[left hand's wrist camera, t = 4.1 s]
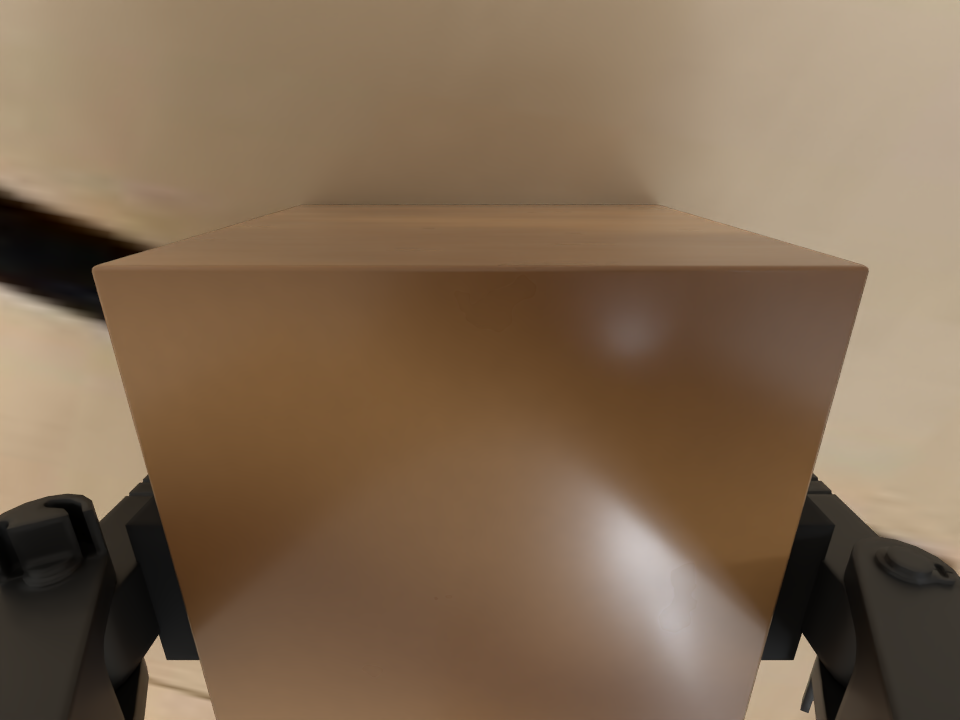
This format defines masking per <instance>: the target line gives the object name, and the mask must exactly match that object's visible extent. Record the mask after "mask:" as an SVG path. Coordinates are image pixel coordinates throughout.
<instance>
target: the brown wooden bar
mask: <svg viewBox="0 0 960 720" xmlns="http://www.w3.org/2000/svg"><path fill="white" fill-rule="evenodd" d="M868 272H869V271H868V267H866V266H864V265H861V264H858V263H854V262H851V261H848V260H844V259H841V258H837V257H834V256H831V255H827V254H824V253H820V252H817V251H814V250H810V249H807V248H803V247H800V246H797V245H793V244H790V243H786V242H783V241H780V240H776V239H773V238H769V237H766V236H763V235H759V234H756V233H752V232H749V231H746V230H742V229H739V228H735V227H732V226H729V225H725V224H722V223H719V222H715V221H712V220H708V219H705V218H702V217H698V216H695V215H691V214H688V213H685V212H681V211H678V210H674V209H671V208H668V207H664V206H661V205H299V206H296V207H293V208H289V209H286V210H282V211H279V212H276V213H272V214H269V215H266V216H262V217H259V218H255V219H252V220H249V221H245V222H242V223H238V224H235V225H232V226H228V227H225V228H221V229H218V230H215V231H211V232H208V233H205V234H201V235H198V236H194V237H191V238H188V239H184V240H181V241H177V242H174V243H171V244H167V245H164V246H161V247H157V248H154V249H150V250H147V251H144V252H140V253H137V254H133V255H130V256H127V257H123V258H120V259H116V260H113V261H110V262H106V263H103V264H100V265H97V266H94V267H93V268H92V273H93V277H94V281H95V284H96V288H97V291H98V295H99V299H100V302H101V306H102V310H103V313H104V317H105V320H106V324H107V328H108V331H109V335H110V338H111V342H112V346H113V349H114V353H115V356H116V360H117V364H118V367H119V371H120V374H121V378H122V382H123V385H124V389H125V392H126V396H127V400H128V403H129V407H130V410H131V414H132V418H133V421H134V425H135V428H136V432H137V436H138V439H139V443H140V447H141V450H142V454H143V457H144V461H145V465H146V468H147V472H148V475H149V479H150V483H151V486H152V490H153V493H154V497H155V501H156V504H157V508H158V511H159V515H160V519H161V522H162V526H163V529H164V533H165V537H166V540H167V544H168V547H169V551H170V555H171V558H172V562H173V565H174V569H175V573H176V576H177V580H178V584H179V587H180V591H181V594H182V598H183V602H184V605H185V609H186V612H187V616H188V620H189V623H190V627H191V630H192V634H193V638H194V641H195V645H196V648H197V652H198V656H199V659H200V663H201V666H202V670H203V674H204V677H205V681H206V684H207V688H208V692H209V695H210V699H211V702H212V706H213V710H214V713H215V717H216V720H744V718H745V715H746V711H747V708H748V704H749V700H750V697H751V693H752V690H753V686H754V682H755V679H756V675H757V672H758V668H759V664H760V661H761V657H762V654H763V650H764V646H765V643H766V639H767V636H768V632H769V628H770V625H771V621H772V618H773V614H774V610H775V607H776V603H777V600H778V596H779V592H780V589H781V585H782V582H783V578H784V574H785V571H786V567H787V564H788V560H789V556H790V553H791V549H792V546H793V542H794V538H795V535H796V531H797V528H798V524H799V520H800V517H801V513H802V510H803V506H804V502H805V499H806V495H807V492H808V488H809V484H810V481H811V477H812V474H813V470H814V466H815V463H816V459H817V456H818V452H819V448H820V445H821V441H822V438H823V434H824V430H825V427H826V423H827V420H828V416H829V412H830V409H831V405H832V402H833V398H834V394H835V391H836V387H837V384H838V380H839V376H840V373H841V369H842V366H843V362H844V358H845V355H846V351H847V348H848V344H849V340H850V337H851V333H852V330H853V326H854V322H855V319H856V315H857V312H858V308H859V304H860V301H861V297H862V294H863V290H864V286H865V283H866V279H867V276H868Z"/></svg>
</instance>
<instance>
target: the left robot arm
mask: <svg viewBox="0 0 960 720" xmlns="http://www.w3.org/2000/svg"><path fill="white" fill-rule="evenodd" d="M831 492H832V491H831V490H830V489H829V488H828V487H827V486H826V485H825V484H824V483H823V482H822V481H818V477H817V476H815V475H814V474H812V477H811V481H810V484H809V488H808V492H807V495H806V499H805V502H804V506H803V510H802V513H801V517H800V520H799V524H798V528H797V531H796V535H795V538H794V542H793V546H792V549H791V553H790V556H789V560H788V564H787V567H786V571H785V574H784V578H783V582H782V585H781V589H780V592H779V596H778V600H777V603H776V607H775V610H774V614H773V618H772V621H771V625H770V628H769V632H768V636H767V639H766V643H765V646H764V650H763V654H762V657H761V660H794V657H795V654H796V650H797V647H798V644H799V641H800V638H801V634H802V633H803V635H804V636H805V638H806V639H807V641H808V642H809V643H810V645H811V646H812V648H813V649H814V651H815V652H816V654H817V657H816V660H815V663H814V666H813V669H812V672H811V675H810V678H809V681H808V684H807V687H806V690H805V693H804V696H803V699H802V704H801V709H800V710H801V711H804V712H807V713H809V710H810V707H811V704H812V701H814V705H815V714H816V720H960V577H959V576H958V574H957V573H956V572H955V571H954V570H953V569H952V568H951V567H949V566H948V565H947V564H946V563H944V562H943V561H942V560H940V559H939V558H938V557H936V556H934V555H932V554H930V553H928V552H926V551H924V550H922V549H920V548H918V547H916V546H913V545H910V544H907V543H904V542H901V541H898V540H894V539H888V538H881V537H879V536H878V535H877V534H876V533H875V532H874V531H872V530H871V529H870V528H869V527H868V526H867V525H866V524H865V523H864V522H863V521H862V520H861V519H860V518H859V517H858V516H857V515H856V514H855V513H854V512H853V511H852V510H851V509H850V508H849V507H848V506H847V505H846V504H845V503H843V502H842V501H841V500H840V499H839V498H838V497H837V496H836V495H835V494H832V493H831ZM158 635H159V636H160V640H161V643H162V646H163V649H164V652H165V656H166V659H167V660H200V659H199V656H198V652H197V648H196V645H195V641H194V638H193V634H192V630H191V627H190V623H189V620H188V616H187V612H186V609H185V605H184V602H183V598H182V594H181V591H180V587H179V584H178V580H177V576H176V573H175V569H174V565H173V562H172V558H171V555H170V551H169V547H168V544H167V540H166V537H165V533H164V529H163V526H162V522H161V519H160V515H159V511H158V508H157V504H156V501H155V497H154V493H153V490H152V486H151V483H150V479H149V475H147V476H146V477H145V478H144V479H143V483H139V484H138V485H137V486H136V487H135V488H134V489H133V490H132V491H131V492H130V493H129V496H126V497H125V498H124V499H123V500H121V501H120V502H119V503H118V504H117V505H116V506H115V507H114V508H113V509H112V510H111V511H110V512H109V513H108V514H107V515H106V516H105V517H104V518H103V519H102V520H101V521H100V522H99V521H98V518H97V515H96V512H95V509H94V506H93V503H92V500H90V499H88V498H87V497H85V496H83V495H76V494H62V495H55V496H48V497H44V498H41V499H37V500H34V501H31V502H27V503H25V504H22V505H20V506H18V507H16V508H13V509H11V510H9V511H7V512H4V513H3V514H1V515H0V720H144V716H145V707H146V698H147V689H148V680H149V676H148V670H147V666H146V663H145V660H144V656H145V654H146V653H147V651H148V650H149V648H150V647H151V645H152V644H153V642H154V641H155V639H156V638H157V636H158Z"/></svg>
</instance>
